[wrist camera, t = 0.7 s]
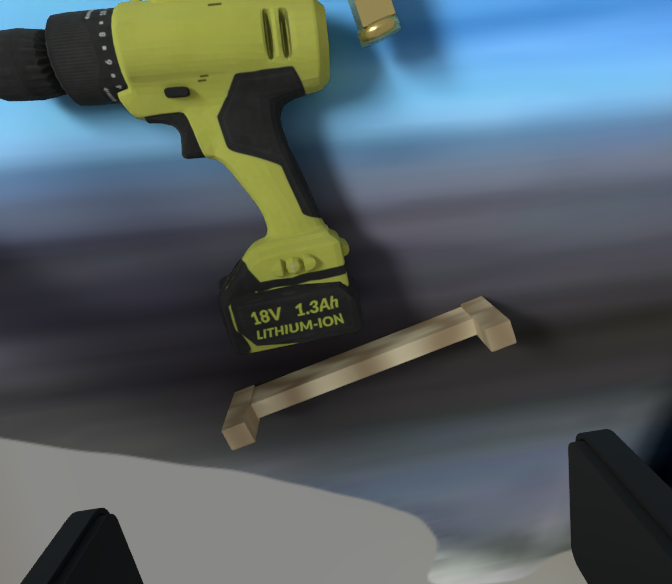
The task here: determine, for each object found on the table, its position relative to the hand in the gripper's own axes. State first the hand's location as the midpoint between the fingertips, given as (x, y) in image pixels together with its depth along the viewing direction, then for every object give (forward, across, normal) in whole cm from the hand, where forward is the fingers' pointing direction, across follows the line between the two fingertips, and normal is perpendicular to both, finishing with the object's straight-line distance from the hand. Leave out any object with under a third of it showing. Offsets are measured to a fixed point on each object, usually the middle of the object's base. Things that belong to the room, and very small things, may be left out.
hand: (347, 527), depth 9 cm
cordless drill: (+30, +10, -7) cm, 32 cm away
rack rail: (+30, 0, +10) cm, 32 cm away
